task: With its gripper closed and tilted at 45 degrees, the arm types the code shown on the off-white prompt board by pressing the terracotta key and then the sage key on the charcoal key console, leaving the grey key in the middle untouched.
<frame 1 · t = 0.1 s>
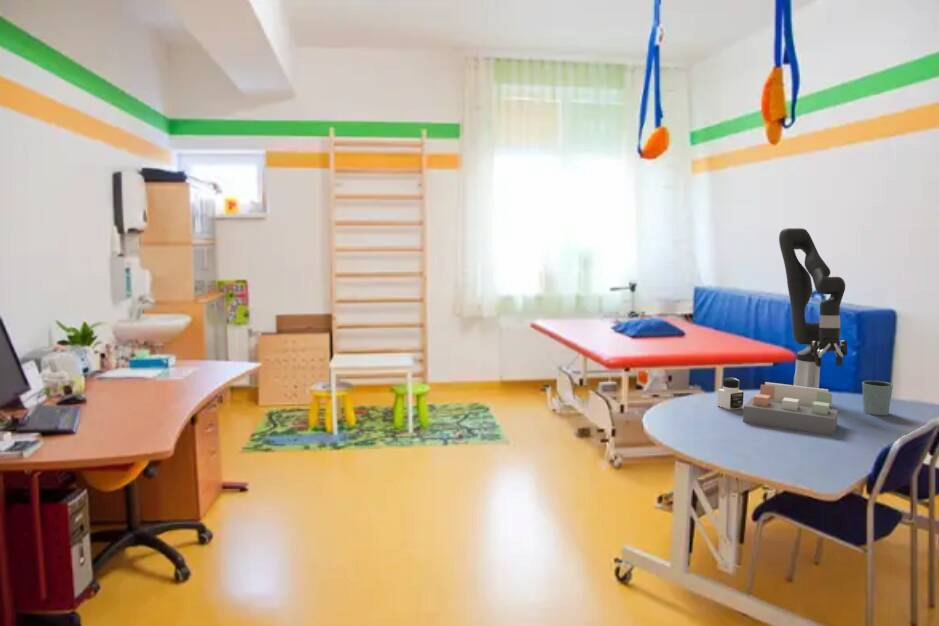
hand: (828, 366, 262), 17 cm above the table, tool pointing down, fingers open, 8 cm apart
sage key: (820, 409, 237), point 7 cm above the table, slide at 0.0 cm
terracotta key: (761, 401, 248), point 7 cm above the table, slide at 0.0 cm
grey key: (790, 405, 242), point 7 cm above the table, slide at 0.0 cm
medicine bottle: (729, 407, 266), on the table
key console: (789, 423, 243), on the table
green cup: (875, 413, 257), on the table
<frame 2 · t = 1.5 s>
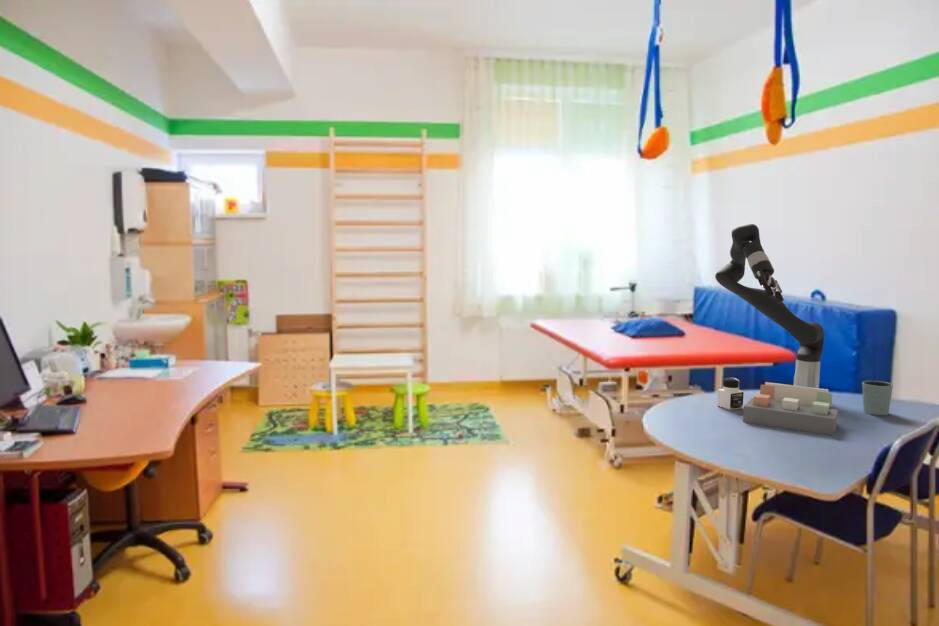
hand: (776, 298, 251), 46 cm above the table, tool tilted 40°, fingers open, 8 cm apart
nothing on the table moved.
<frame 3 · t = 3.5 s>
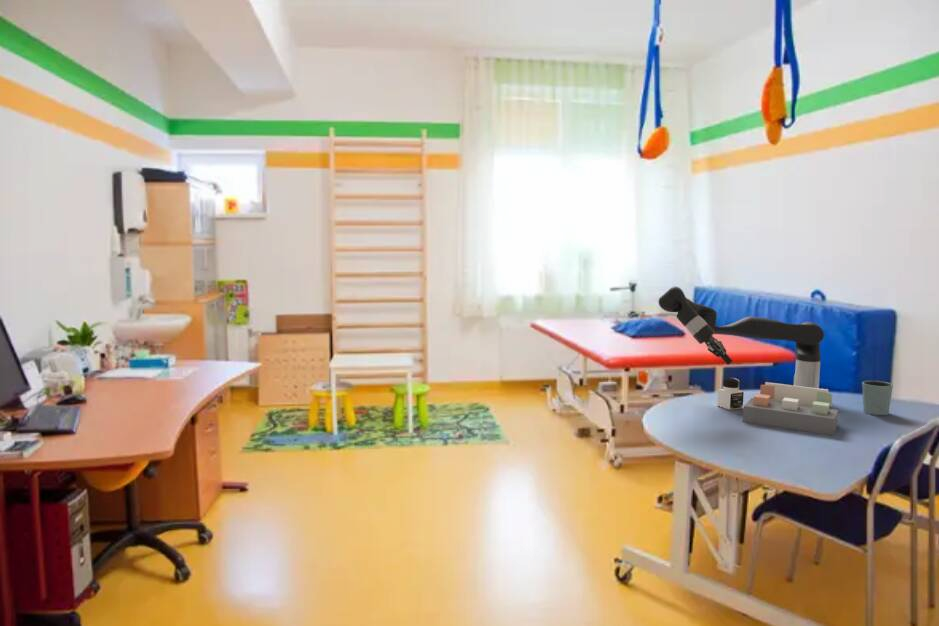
hand: (730, 363, 253), 21 cm above the table, tool tilted 45°, fingers closed
nothing on the table moved.
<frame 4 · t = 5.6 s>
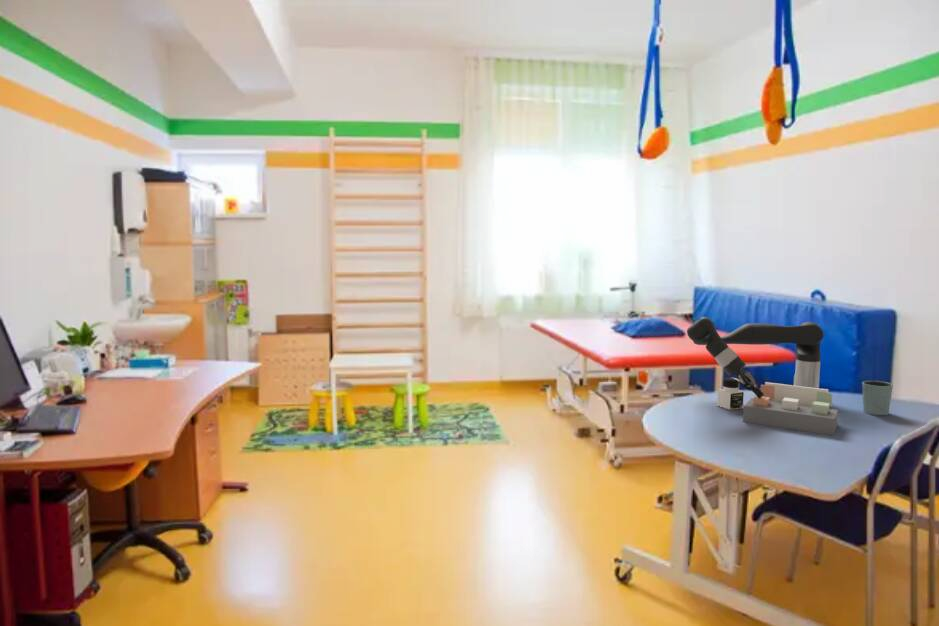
hand: (761, 396, 248), 9 cm above the table, tool tilted 45°, fingers closed
terracotta key: (761, 403, 248), point 6 cm above the table, slide at 0.8 cm, touching gripper
everything else where it was.
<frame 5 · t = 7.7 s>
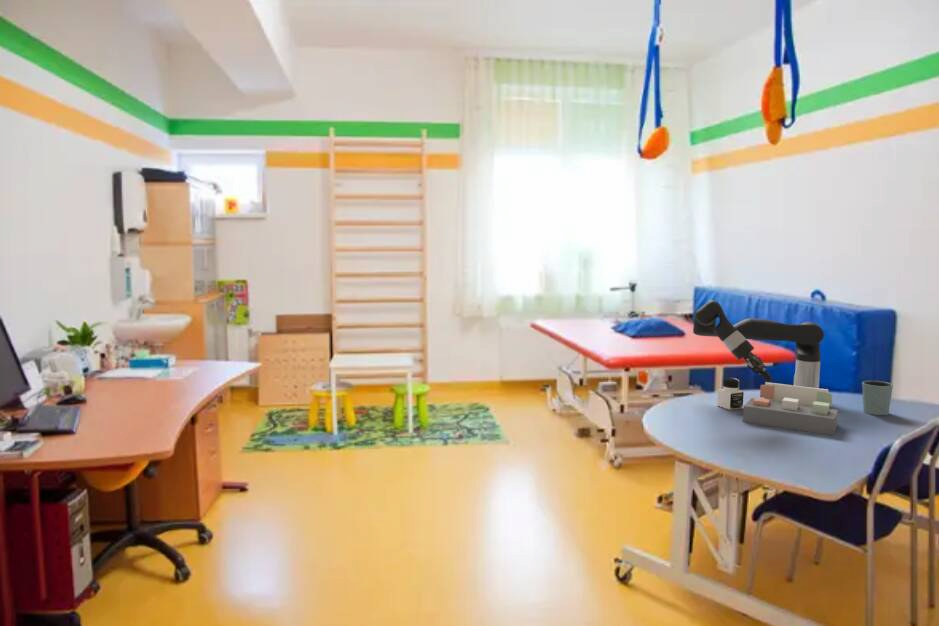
hand: (770, 380, 245), 16 cm above the table, tool tilted 45°, fingers closed
terracotta key: (761, 405, 248), point 5 cm above the table, slide at 1.6 cm, touching key console
everything else where it was.
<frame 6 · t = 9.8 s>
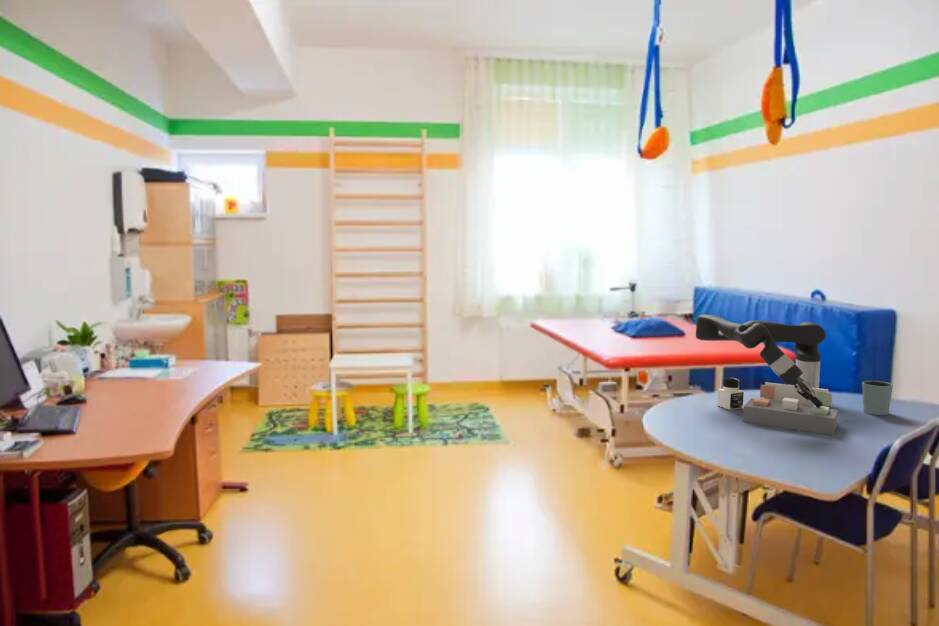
hand: (820, 406, 236), 8 cm above the table, tool tilted 45°, fingers closed
sage key: (820, 413, 237), point 5 cm above the table, slide at 1.5 cm, touching gripper
everything else where it was.
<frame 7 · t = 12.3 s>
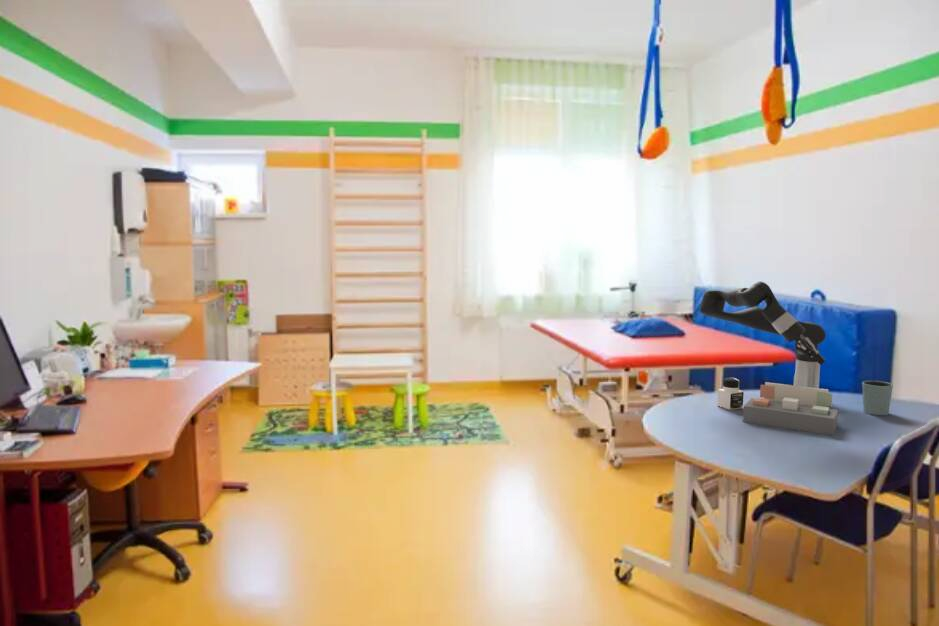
hand: (823, 363, 235), 24 cm above the table, tool tilted 45°, fingers closed
sage key: (820, 413, 237), point 5 cm above the table, slide at 1.6 cm, touching key console
everything else where it was.
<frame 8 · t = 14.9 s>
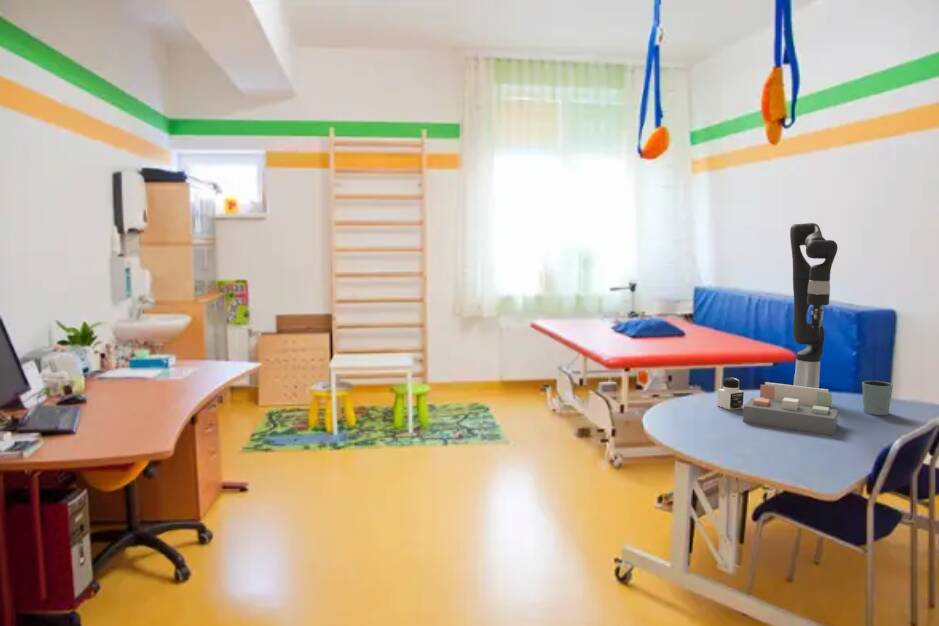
hand: (815, 336, 251), 31 cm above the table, tool pointing down, fingers closed
nothing on the table moved.
at the end: terracotta key slide at 1.6 cm; sage key slide at 1.6 cm; grey key slide at 0.0 cm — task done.
